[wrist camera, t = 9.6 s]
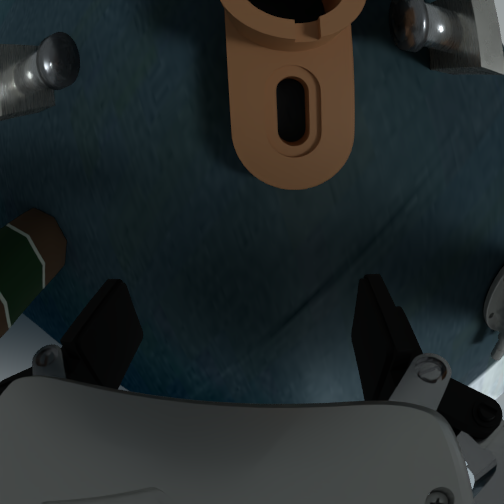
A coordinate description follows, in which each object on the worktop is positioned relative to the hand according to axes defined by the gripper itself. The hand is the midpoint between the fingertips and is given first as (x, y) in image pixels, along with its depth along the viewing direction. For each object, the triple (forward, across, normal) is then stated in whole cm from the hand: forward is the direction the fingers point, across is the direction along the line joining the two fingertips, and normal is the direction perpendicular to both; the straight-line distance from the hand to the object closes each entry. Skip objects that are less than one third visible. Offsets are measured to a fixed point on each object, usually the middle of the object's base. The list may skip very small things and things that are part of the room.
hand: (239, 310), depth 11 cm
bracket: (+14, -3, -10) cm, 18 cm away
